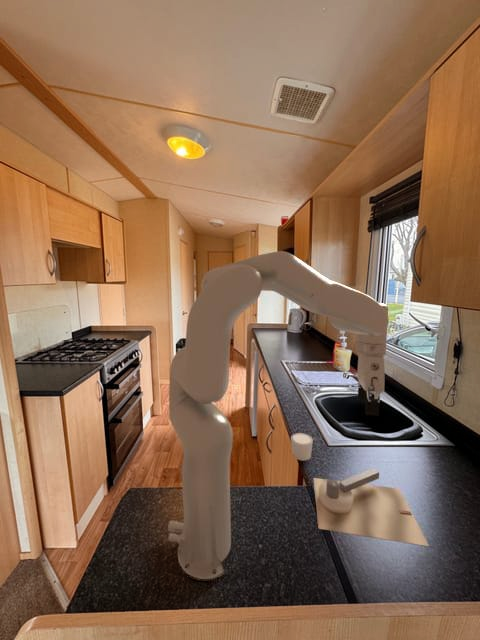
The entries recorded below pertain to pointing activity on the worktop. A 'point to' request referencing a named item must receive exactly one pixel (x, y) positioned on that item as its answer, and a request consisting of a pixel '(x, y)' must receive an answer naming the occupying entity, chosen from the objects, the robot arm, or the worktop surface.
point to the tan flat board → (372, 515)
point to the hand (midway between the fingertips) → (367, 407)
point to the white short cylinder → (301, 446)
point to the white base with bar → (343, 491)
